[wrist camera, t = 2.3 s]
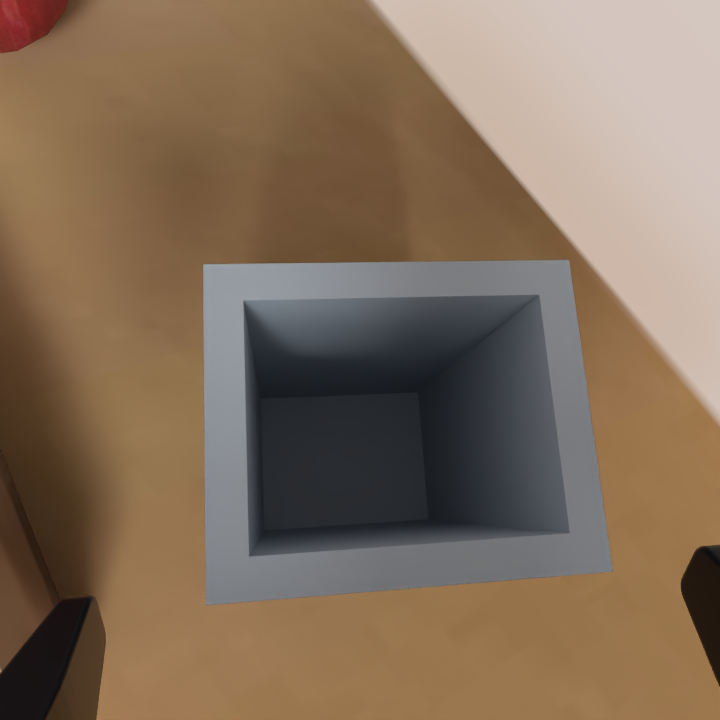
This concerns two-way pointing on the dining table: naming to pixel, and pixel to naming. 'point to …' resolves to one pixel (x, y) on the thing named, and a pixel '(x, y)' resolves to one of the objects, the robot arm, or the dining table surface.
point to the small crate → (395, 428)
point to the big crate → (19, 574)
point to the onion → (27, 21)
